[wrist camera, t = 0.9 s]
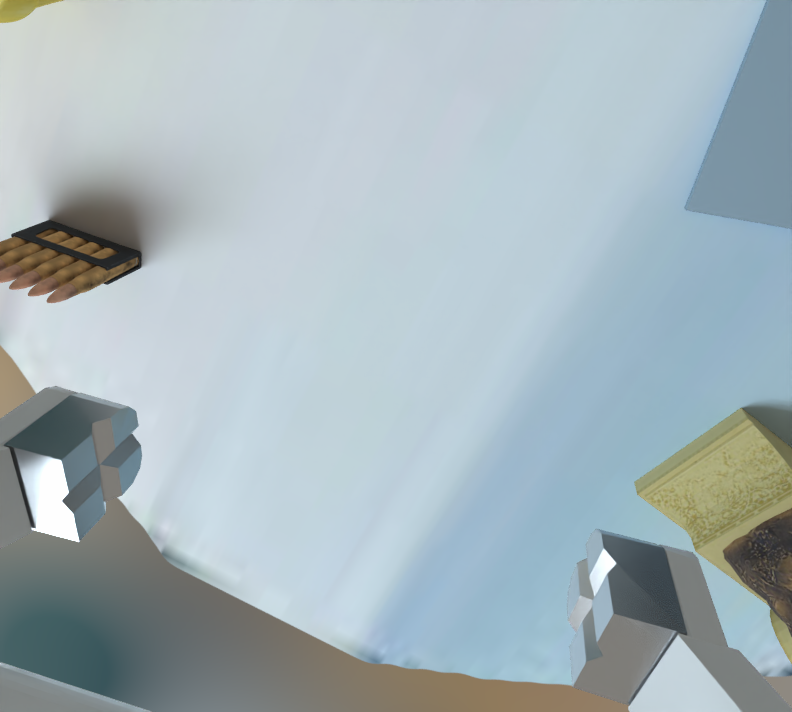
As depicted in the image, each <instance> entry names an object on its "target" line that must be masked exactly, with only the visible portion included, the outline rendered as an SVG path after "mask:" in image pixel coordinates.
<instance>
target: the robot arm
mask: <svg viewBox="0 0 792 712" xmlns="http://www.w3.org/2000/svg"><path fill="white" fill-rule="evenodd" d="M137 427H138V420H137V414H136V411H135V410H133V409H132V408H130V407H128V406H125V405H121V404H118V403H114V402H111V401H107V400H104V399H101V398H97V397H94V396H90V395H87V394H83V393H77V392H74V391H70V390H67V389H64V388H60V387H57V386H54V387H48V388H45V389H43V390H42V391H40V392H39V393H37V394H36V395H34V396H33V397H31V398H30V399H29V400H27V401H25V402H24V403H23V404H21V405H20V406H18V407H17V408H15V409H14V410H12V411H11V412H9V413H8V414H6V415H5V416H4V417H2V418H1V419H0V549H1V548H3V547H5V546H7V545H9V544H11V543H13V542H15V541H16V540H18V539H21V538H23V537H24V536H26V535H28V534H30V533H32V530H36V531H40V532H44V533H47V534H51V535H55V536H59V537H63V538H67V539H70V540H74V541H78V542H79V541H80V540H81V539H82V538H83V537H84V536H85V535H86V533H88V532H89V530H90V529H91V528H92V527H93V526H94V525H95V524H96V523H97V522H98V521H99V520H100V519H101V517H102V516H103V515H104V514H105V512H106V502H107V501H109V500H112V499H114V498H117V497H119V496H121V495H123V494H124V493H125V491H126V490H127V489H128V488H129V487H130V486H131V485H132V483H133V482H134V479H135V477H136V475H137V473H138V471H139V469H140V465H141V459H142V452H141V445H140V444H139V442H138V441H137V440H136V438H135V437H134V436H133V434H132V433H133V432H134V430H135V429H136V428H137ZM586 551H587V558H586V559H584V560H582V561H580V562H578V563H577V565H576V567H575V569H574V572H573V574H572V577H571V581H570V585H569V590H568V600H567V614H568V622H569V623H570V624H571V626H572V627H573V629H574V630H575V632H576V634H575V636H574V638H573V640H572V642H571V644H570V660H571V674H572V687H574V688H577V689H580V690H583V691H586V692H589V693H592V694H595V695H598V696H601V697H604V698H608V699H611V700H614V701H617V702H620V703H623V704H626V705H629V708H628V709H629V710H630V712H792V708H791V707H790V706H789V704H788V703H787V702H786V701H785V700H784V699H783V698H782V697H781V696H780V695H779V694H778V693H777V692H776V690H775V689H774V688H773V687H772V686H771V685H770V684H769V683H768V682H767V681H766V679H765V678H764V677H763V676H762V675H761V674H760V673H759V672H758V671H757V670H756V669H755V667H754V666H753V665H752V664H751V663H750V662H749V661H748V660H747V659H746V658H745V657H744V655H743V654H742V653H741V652H740V651H739V650H736V649H732V648H729V647H728V645H727V642H726V639H725V636H724V633H723V630H722V628H721V625H720V622H719V619H718V616H717V613H716V610H715V607H714V604H713V601H712V598H711V595H710V592H709V589H708V587H707V584H706V581H705V578H704V575H703V572H702V569H701V566H700V563H699V560H698V558H697V557H696V556H695V555H694V553H693V552H689V551H685V550H681V549H677V548H673V547H668V546H664V545H657V544H655V543H651V542H647V541H643V540H639V539H635V538H631V537H627V536H623V535H619V534H615V533H611V532H607V531H603V530H600V529H595V530H594V531H593V532H592V533H591V535H590V537H589V539H588V541H587V543H586ZM0 712H151V711H148V710H145V709H142V708H139V707H136V706H133V705H130V704H127V703H123V702H121V701H117V700H114V699H111V698H108V697H105V696H102V695H99V694H96V693H93V692H90V691H87V690H84V689H81V688H78V687H75V686H71V685H69V684H65V683H62V682H59V681H56V680H53V679H50V678H47V677H44V676H41V675H38V674H35V673H32V672H28V671H25V670H23V669H20V668H16V667H14V666H10V665H7V664H4V663H1V662H0Z"/></svg>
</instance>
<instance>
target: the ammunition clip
mask: <svg viewBox="0 0 792 712" xmlns="http://www.w3.org/2000/svg"><path fill="white" fill-rule="evenodd" d="M11 236H12V238H10V239H7V240H4V241H1V242H0V283H3V282H8V281H11V280H15V279H16V280H15V281H14V282H13V283H12V284H11V285H10V287H9V289H12V290H17V289H23V288H27V287H30V286H33V285H35V284H36V285H35V286H34V287H33V288H32V289H31V290H30V291H29V293H28V296H39V295H44V294H47V293H49V292H52V291H54V290H56V291H54V292H53V293H52V294H51V295H50V296H49V297H48V299H47V303H56V302H60V301H64V300H66V299H69V298H71V297H73V296H75V295H78V294H80V293H83V292H87V291H89V290H91V289H93V288H95V287H97V286H99V285H101V284H103V283H104V284H107V285H108V284H110V283H112V282H114V281H116V280H118V279H120V278H122V277H124V276H126V275H128V274H130V273H132V272H134V271H136V270H138V269H140V268H141V252H139V251H136V250H133V249H130V248H127V247H124V246H122V245H119V244H116V243H113V242H110V241H107V240H105V239H102V238H99V237H96V236H93V235H90V234H87V233H85V232H82V231H79V230H76V229H73V228H70V227H68V226H65V225H62V224H59V223H56V222H53V221H50V220H48V221H45V222H42V223H40V224H37V225H34V226H32V227H29V228H26V229H24V230H21V231H18V232H16V233H13V234H11ZM14 236H15V237H14ZM37 283H38V284H37Z"/></svg>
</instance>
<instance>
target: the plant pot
mask: <svg viewBox="0 0 792 712" xmlns="http://www.w3.org/2000/svg"><path fill="white" fill-rule="evenodd" d="M59 1H63V0H0V23H8V22H15V21H18V20H21V19H23V18H25V17H26V16H28V15H29V14H30V13H31V12H32V11H33V10H34V9H35V8H37V7H41V6H44V5H48V4H51V3H55V2H59Z"/></svg>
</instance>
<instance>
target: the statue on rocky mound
mask: <svg viewBox="0 0 792 712" xmlns="http://www.w3.org/2000/svg"><path fill="white" fill-rule="evenodd" d="M634 483H635V487H636V491H637V495H639V496H640V497H641V498H643V499H644V500H645V501H647V502H648V503H649V504H651V505H652V506H653V507H655V508H656V509H657V510H659V511H660V512H661V513H663V514H664V515H665V516H667V517H668V518H669V519H671V520H672V521H673V522H675V523H676V524H678V525H679V526H680V527H682V528H683V529H684V530H686V531H687V533H688V534H689V536H690V537H691V539H692V542H693V545H694V548H695V551H696V552H697V553H699V554H700V555H701V556H703V557H704V558H705V559H707V560H708V561H709V562H711V563H712V564H713V565H715V566H716V567H717V568H719V569H720V570H721V571H723V572H724V573H725V574H727V575H728V576H730V577H731V578H732V579H734V580H735V581H736V582H738V583H739V584H740V585H742V586H743V587H744V588H746V589H747V590H748V591H750V592H751V593H752V594H754V595H755V596H756V597H758V598H759V599H760V600H762V601H763V602H765V603H766V604H767V605H769V607H770V608H771V610H770V618H771V623H772V626H773V629H774V631H775V634H776V636H777V638H778V640H779V642H780V645H781V646H782V648H783V650H784V652H785V654H786V655H787V657H788V659H789V660H790V662H791V663H792V448H791V447H790V446H789V445H787V444H786V443H785V442H784V441H782V440H781V439H780V438H779V437H777V436H776V435H775V434H774V433H772V432H771V431H770V430H769V429H767V428H766V427H765V426H764V425H762V424H761V423H760V422H759V421H757V420H756V419H755V418H754V417H752V416H751V415H750V414H749V413H747V412H746V411H745V410H744V409H742V408H740V409H739V410H737V411H736V412H734V413H733V414H731V415H730V416H729V417H727V418H726V419H724V420H723V421H721V422H720V423H719V424H717V425H716V426H714V427H713V428H711V429H710V430H709V431H707V432H706V433H704V434H703V435H701V436H700V437H699V438H697V439H696V440H694V441H693V442H691V443H690V444H688V445H687V446H686V447H684V448H683V449H681V450H680V451H678V452H677V453H676V454H674V455H673V456H671V457H670V458H668V459H667V460H666V461H664V462H663V463H661V464H660V465H658V466H657V467H655V468H654V469H653V470H651V471H650V472H648V473H647V474H645V475H644V476H643V477H641V478H640V479H638V480H637V481H635V482H634Z"/></svg>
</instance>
